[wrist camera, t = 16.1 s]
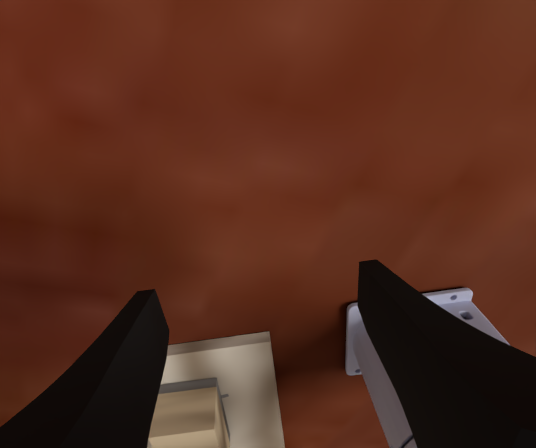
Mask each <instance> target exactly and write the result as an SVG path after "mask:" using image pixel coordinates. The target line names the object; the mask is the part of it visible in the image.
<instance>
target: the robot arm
mask: <svg viewBox="0 0 536 448" xmlns="http://www.w3.org/2000/svg"><path fill="white" fill-rule="evenodd" d="M472 295H473V292H472V291H471V290H470V289H469V288H460V289H453V290H446V291H438V292H431V293H424V294H421V293H420V292H418V291H417V290H416V289H414V288H413V287H411V286H410V285H409V284H407V283H406V282H405V281H404V280H402V279H401V278H400V277H398V276H397V275H396V274H394V273H393V272H392V271H391V270H389V269H388V268H387V267H386V266H384V265H383V264H382V263H380V262H379V261H378V260H369V261H362V262H359V280H358V302H357V303H352V304H350V305H349V306H348V307H347V324H346V361H345V370H346V373H347V374H348V375H359V374H362V375H363V378H364V381H365V383H366V386H367V389H368V391H369V394H370V396H371V399H372V402H373V404H374V407H375V410H376V412H377V415H378V418H379V420H380V423H381V426H382V428H383V431H384V434H385V436H386V439H387V442H388V444H389V447H390V448H536V357H534V356H532V355H530V354H527V353H525V352H523V351H521V350H519V349H516V348H514V347H512V346H511V345H510V344H509V343H508V342H507V341H506V340H505V339H504V338H503V336H502V335H501V334H500V333H499V332H498V331H497V330H496V329H495V327H494V326H493V325H492V324H491V323H490V322H489V321H488V319H487V318H486V317H485V316H484V315H483V314H482V313H481V312H480V310H479V309H478V308H477V307H476V306H475V305H474V304H473V303H472V301H471V299H472ZM168 341H169V328H168V325H167V322H166V320H165V317H164V314H163V311H162V308H161V305H160V302H159V299H158V296H157V293H156V291H155V289H152V290H145V291H137V293H136V294H135V295H134V296H133V297H132V298H131V299H130V301H129V302H128V303H127V304H126V305H125V307H124V308H123V309H122V310H121V311H120V313H119V314H118V315H117V316H116V317H115V319H114V320H113V321H112V322H111V323H110V324H109V326H108V327H107V328H106V329H105V330H104V331H103V332H102V334H101V335H100V336H99V337H98V338H97V339H96V340H95V341H94V342H93V343H92V345H91V346H90V347H89V348H88V349H87V350H86V351H85V352H84V353H83V354H82V355H81V356H80V357H79V358H78V359H77V360H76V362H75V363H74V364H73V365H72V366H71V367H70V368H69V369H68V370H66V371H65V372H64V373H63V374H62V375H61V376H60V377H59V378H58V379H57V380H56V381H55V382H54V383H53V384H51V385H50V386H49V387H48V388H47V389H46V390H45V391H44V392H43V393H42V394H40V395H39V396H38V397H37V398H36V399H34V400H33V401H32V402H31V403H30V404H28V405H27V406H26V407H25V408H24V409H22V410H21V411H20V412H19V413H17V414H16V415H15V416H14V417H13V418H11V419H10V420H9V421H8V422H7V423H5V424H4V425H3V426H1V427H0V448H147V445H148V438H149V433H150V428H151V423H152V419H153V414H154V410H155V406H156V402H157V398H158V393H159V389H160V385H161V381H162V377H163V372H164V368H165V363H166V359H167V350H168Z"/></svg>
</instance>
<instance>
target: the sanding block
mask: <svg viewBox="0 0 536 448" xmlns="http://www.w3.org/2000/svg"><path fill="white" fill-rule="evenodd" d="M148 439H149V441H150V443H151V445H152V447H153V448H230V431H229V427H228V423H227V419H226V415H225V410H224V406H223V402H222V398H221V393H220V389H219V385H218V381H217V378H210V379H202V380H194V381H186V382H178V383H170V384H163V385H160V389H159V393H158V398H157V402H156V406H155V410H154V414H153V419H152V423H151V428H150V433H149V438H148Z"/></svg>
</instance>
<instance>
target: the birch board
mask: <svg viewBox="0 0 536 448" xmlns="http://www.w3.org/2000/svg"><path fill="white" fill-rule="evenodd" d="M210 378H217V381H218V385H219V389H220V393H221V398H222V402H223V406H224V410H225V415H226V419H227V423H228V427H229V431H230V448H285V445H284V437H283V430H282V423H281V415H280V408H279V400H278V393H277V385H276V378H275V371H274V363H273V356H272V348H271V341H270V333H269V331H268V332H261V333H254V334H246V335H239V336H232V337H225V338H217V339H210V340H203V341H196V342H188V343H181V344H174V345H168V350H167V359H166V363H165V368H164V372H163V377H162V381H161V385H163V384H170V383H178V382H186V381H194V380H202V379H210ZM147 448H153V447H152V445H151V443H150V441H149V439H148V445H147Z"/></svg>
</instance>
